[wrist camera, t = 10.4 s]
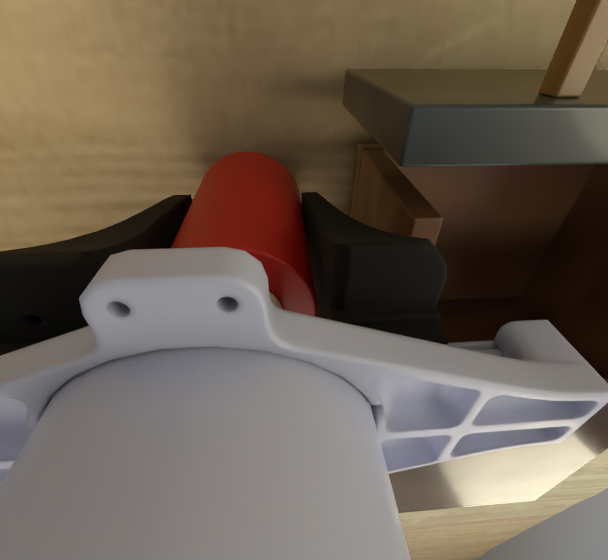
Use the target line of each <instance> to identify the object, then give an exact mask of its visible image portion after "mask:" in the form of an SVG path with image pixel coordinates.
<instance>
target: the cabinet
mask: <svg viewBox="0 0 608 560" xmlns="http://www.w3.org/2000/svg"><path fill="white" fill-rule="evenodd" d="M603 379H604V380H605V381H606V382H607V383H608V378H603ZM607 448H608V403H607V404H606V405H604V406H603V407H602V408H601V409H600V410H599V411H598V412H596V413H595V414H594V415H593V416H592V417H591V418H589V419H588V420H587V421H586V422H585V423H584V424H582V425H581V426H580V427H579V428H578V429H577V430H575V431H574V432H573V433H572V434H571V435H570V436H568V437H567V438H566V439H565V440H564V441H563V442H561V443H552V444H543V445H533V446H525V447H518V448H511V449H505V450H499V451H494V452H488V453H483V454H478V455H473V456H468V457H464V458H459V459H454V460H450V461H445V462H440V463H436V464H431V465H426V466H422V467H417V468H412V469H408V470H403V471H399V472H394V473H389V478H390V482H391V486H392V490H393V493H394V497H395V501H396V505H397V509H398V513H403V512H414V511H425V510H436V509H447V508H458V507H469V506H480V505H491V504H502V503H513V502H524V501H534V500H536V499H537V498H539V497H540V496H542V495H543V494H544V493H546V492H547V491H549V490H550V489H551V488H553V487H554V486H556V485H557V484H558V483H560V482H561V481H563V480H564V479H565V478H567V477H568V476H570V475H571V474H572V473H574V472H575V471H577V470H578V469H579V468H581V467H582V466H584V465H585V464H586V463H588V462H589V461H591V460H592V459H593V458H595V457H596V456H597V455H599V454H600V453H602V452H603V451H604V450H606V449H607Z"/></svg>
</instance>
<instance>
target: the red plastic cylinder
mask: <svg viewBox="0 0 608 560" xmlns="http://www.w3.org/2000/svg"><path fill="white" fill-rule="evenodd" d="M202 247H228V248H233V249H238V250H244V251H246V252H248V253H249V254H250V255H252V256H253V257H255V258H256V259H257V260H259V261H260V262H261V263H262V265H263V267H264V270H265V272H266V274H267V277H268V286H269V295H270V299H271V302H272V303H273V305H274V306H276V307H277V308H279V309H282V310H287V311H291V312H296V313H301V314H305V315H310V316H315V317H317V299H316V293H315V287H314V281H313V274H312V268H311V262H310V256H309V250H308V243H307V237H306V231H305V225H304V219H303V213H302V206H301V200H300V194H299V190H298V187H297V184H296V182H295V180H294V178H293V176H292V175H291V174H290V172H289V171H288V170H287V169H286V168H285V167H284V166H283V165H282V164H281V163H279V162H278V161H276V160H275V159H273V158H271V157H269V156H267V155H264V154H260V153H255V152H237V153H233V154H230V155H227V156H225V157H223V158H221V159H219V160H218V161H216V162H215V163H214V164H213V165H212V166H211V167H210V168H209V169H208V171H207V172H206V174H205V176H204V178H203V180H202V182H201V184H200V186H199V188H198V190H197V193H196V195H195V197H194V199H193V201H192V203H191V205H190V208H189V210H188V212H187V214H186V216H185V218H184V220H183V223H182V225H181V227H180V229H179V231H178V233H177V235H176V238H175V240H174V242H173V244H172V246H171V248H202Z"/></svg>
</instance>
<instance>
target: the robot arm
mask: <svg viewBox="0 0 608 560" xmlns="http://www.w3.org/2000/svg"><path fill="white" fill-rule="evenodd" d="M191 203H192V199H191V195H174V196H171V197H168V198H166V199H164V200H162V201H161V202H159V203H157V204H155V205H153V206H151V207H150V208H148V209H146V210H144V211H142V212H140V213H138V214H136V215H134V216H132V217H130V218H128V219H126V220H124V221H122V222H120V223H117V224H115V225H113V226H110V227H107V228H105V229H102V230H99V231H96V232H93V233H90V234H86V235H83V236H79V237H76V238H72V239H69V240H64V241H60V242H56V243H51V244H46V245H41V246H35V247H29V248H22V249H15V250H8V251H0V560H411V559H410V555H409V551H408V547H407V543H406V540H405V536H404V532H403V528H402V524H401V520H400V516H399V513H398V509H397V505H396V501H395V497H394V493H393V490H392V486H391V482H390V478H389V473H394V472H399V471H403V470H408V469H412V468H417V467H422V466H426V465H431V464H436V463H440V462H445V461H450V460H454V459H459V458H464V457H468V456H473V455H478V454H483V453H488V452H494V451H499V450H505V449H511V448H518V447H525V446H533V445H543V444H552V443H561V442H563V441H564V440H565V439H566V438H567V437H568V436H570V435H571V434H572V433H573V432H574V431H575V430H577V429H578V428H579V427H580V426H581V425H582V424H584V423H585V422H586V421H587V420H588V419H589V418H591V417H592V416H593V415H594V414H595V413H596V412H598V411H599V410H600V409H601V408H602V407H603V406H604V405H606V404H607V403H608V383H607V382H606V381H605V380H604V379H603V378H602V377H601V376H600V375H599V374H598V373H597V372H596V371H595V370H594V368H593V367H592V366H591V365H590V364H589V363H588V362H587V361H586V360H585V359H584V358H583V357H582V356H581V355H580V354H579V353H578V352H577V351H576V349H575V348H574V347H573V346H572V345H571V344H570V343H569V342H568V341H567V340H566V339H565V338H564V337H563V336H562V335H561V334H560V333H559V331H558V330H557V329H556V328H555V327H554V326H553V325H552V324H551V323H550V322H549V321H548V320H527V321H513V322H508V323H506V324H505V325H503V326H502V327H501V328H500V329H499V331H498V332H497V334H496V337H495V339H494V340H492V341H473V342H455V343H448V342H449V339H448V338H447V336H446V334H445V332H444V331H443V329H442V327H441V325H440V324H439V322H438V320H440V317H441V315H440V312H439V311H438V309H437V307H436V305H437V302H438V299H439V297H440V294H441V291H442V289H443V286H444V284H445V280H446V276H447V267H446V262H445V261H444V259H443V257H442V255H441V254H440V253H439V251H438V250H437V249H436V247H435V246H434V245H433V243H432V242H431V241H430V240H429V239H425V238H417V237H409V236H403V235H398V234H393V233H389V232H386V231H382V230H379V229H376V228H373V227H370V226H368V225H365V224H363V223H361V222H359V221H357V220H355V219H353V218H351V217H349V216H348V215H346V214H345V213H343V212H341V211H340V210H339V209H337V208H336V207H334V206H333V205H332V204H331V203H329V202H328V201H327V200H326V199H324V198H323V197H322V196H321V195H320V194H318V193H317V192H305V193H302V213H303V219H304V225H305V231H306V237H307V243H308V250H309V256H310V262H311V268H312V274H313V281H314V287H315V293H316V299H317V317H315V316H310V315H305V314H301V313H296V312H291V311H287V310H282V309H279V308H277V307H276V306H274V305H273V303H272V302H271V299H270V295H269V286H268V277H267V274H266V272H265V270H264V267H263V265H262V263H261V262H260V261H259V260H257V259H256V258H255V257H253V256H252V255H250V254H249V253H248V252H246V251H244V250H238V249H233V248H228V247H202V248H171V246H172V244H173V242H174V240H175V238H176V235H177V233H178V231H179V229H180V227H181V225H182V223H183V220H184V218H185V216H186V214H187V212H188V210H189V208H190V205H191Z"/></svg>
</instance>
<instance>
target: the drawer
mask: <svg viewBox="0 0 608 560" xmlns="http://www.w3.org/2000/svg"><path fill="white" fill-rule="evenodd" d="M607 42H608V0H576V3H575V5H574V8H573V10H572V12H571V15H570V17H569V20H568V22H567V24H566V27H565V29H564V32H563V34H562V36H561V39H560V41H559V44H558V46H557V48H556V51H555V53H554V56H553V58H552V60H551V63H550V65H549V68H548V70H450V69H347V70H346V73H345V85H344V98H343V105H344V106H345V108H346V109H347V110H348V111H349V112H350V113H351V114H352V115H353V116H354V117H355V118H356V119H357V121H358V122H359V123H360V124H361V125H362V126H363V127H364V128H365V129H366V130H367V131H368V132H369V133H370V135H371V136H372V137H373V138H374V139H375V140H376V141H377V142H378V143H379V144H359V145H358V151H357V160H356V169H355V177H354V186H353V195H352V204H351V212H350V217H351V218H353V219H355V220H357V221H359V222H361V223H363V224H365V225H368V226H370V227H373V228H376V229H379V230H382V231H386V232H389V233H393V234H398V235H403V236H409V237H417V238H425V239H429V240H430V241H431V242H432V243H433V245H434V246H435V247H436V249H437V250H438V251H439V253H440V254H441V255H442V257H443V259H444V261H445V262H446V267H447V276H446V280H445V284H444V286H443V289H442V291H441V294H440V297H439V299H438V302H437V305H436V307H437V309H438V311H439V312H440V315H441V317H440V320H438V322H439V324H440V325H441V327H442V329H443V331H444V332H445V334H446V336H447V338H448V339H449V342H448V343H455V342H473V341H492V340H494V339H495V337H496V334H497V332H498V331H499V329H500V328H501V327H502V326H503V325H505V324H506V323H508V322H513V321H527V320H548V321H549V322H550V323H551V324H552V325H553V326H554V327H555V328H556V329H557V330H558V331H559V333H560V334H561V335H562V336H563V337H564V338H565V339H566V340H567V341H568V342H569V343H570V344H571V345H572V346H573V347H574V348H575V349H576V351H577V352H578V353H579V354H580V355H581V356H582V357H583V358H584V359H585V360H586V361H587V362H588V363H589V364H590V365H591V366H592V367H593V368H594V370H595V371H596V372H597V373H598V374H599V375H600V376H601V377H602V378H608V71H593V70H594V68H595V66H596V64H597V62H598V60H599V58H600V56H601V54H602V52H603V50H604V48H605V46H606V44H607Z"/></svg>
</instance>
